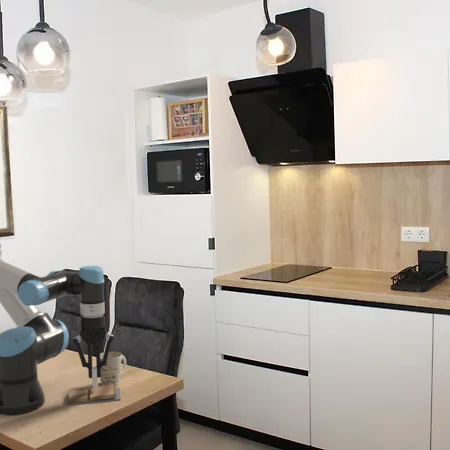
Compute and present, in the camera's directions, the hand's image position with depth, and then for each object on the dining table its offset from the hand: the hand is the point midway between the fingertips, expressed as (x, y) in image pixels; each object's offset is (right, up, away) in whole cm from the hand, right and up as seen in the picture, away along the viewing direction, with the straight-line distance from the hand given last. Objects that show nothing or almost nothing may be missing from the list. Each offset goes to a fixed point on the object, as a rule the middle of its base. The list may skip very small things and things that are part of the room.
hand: (95, 387), depth 186 cm
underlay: (0, -3, 0) cm, 3 cm away
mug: (+4, -2, +13) cm, 14 cm away
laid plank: (-5, -3, -1) cm, 6 cm away
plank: (+3, -2, 0) cm, 4 cm away
